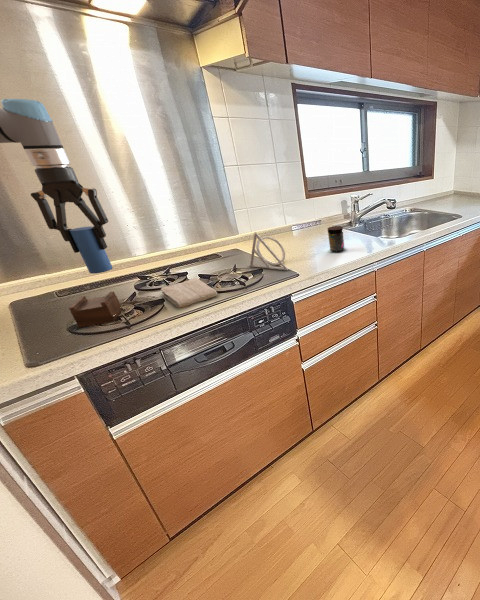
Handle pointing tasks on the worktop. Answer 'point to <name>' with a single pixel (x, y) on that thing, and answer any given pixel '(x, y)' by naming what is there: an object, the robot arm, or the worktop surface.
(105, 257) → the tube
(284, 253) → the wire frame
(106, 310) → the cradle
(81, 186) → the robot arm
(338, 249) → the supplement container
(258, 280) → the worktop surface
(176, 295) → the washcloth
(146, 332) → the worktop surface
